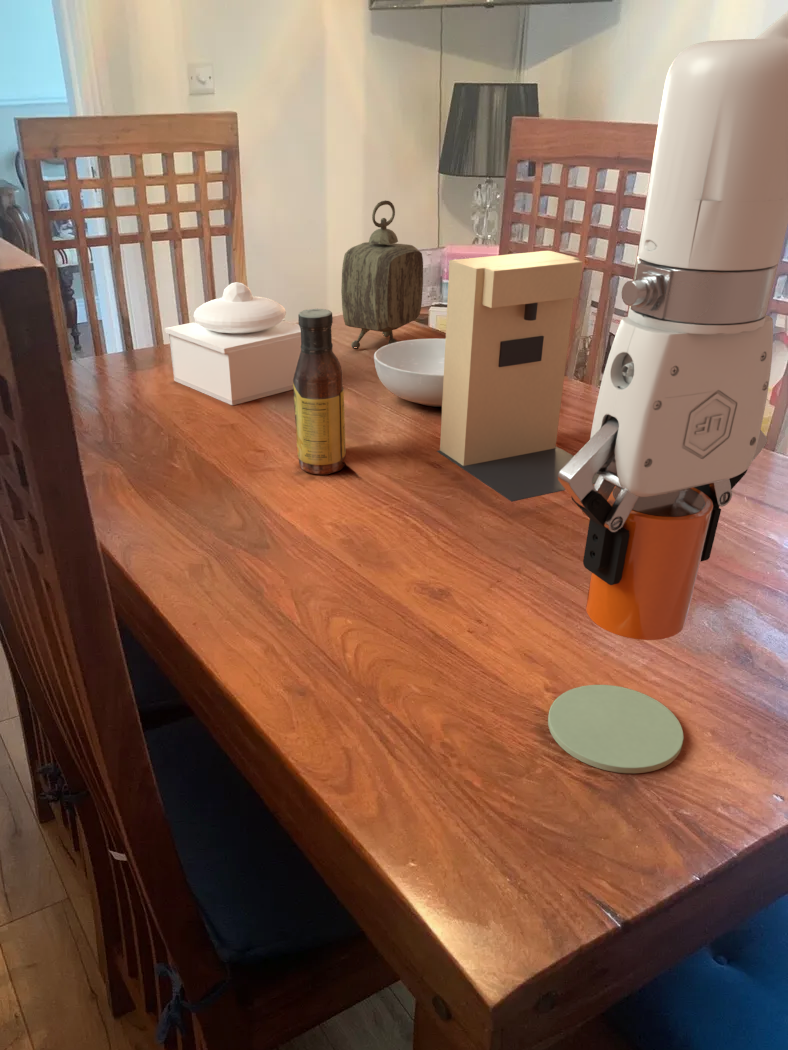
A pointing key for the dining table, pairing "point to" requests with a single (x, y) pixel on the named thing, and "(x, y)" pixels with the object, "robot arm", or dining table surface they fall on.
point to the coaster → (615, 729)
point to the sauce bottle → (319, 397)
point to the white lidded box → (236, 347)
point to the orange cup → (654, 567)
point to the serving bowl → (413, 370)
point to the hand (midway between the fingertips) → (646, 561)
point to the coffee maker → (508, 369)
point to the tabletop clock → (381, 282)
